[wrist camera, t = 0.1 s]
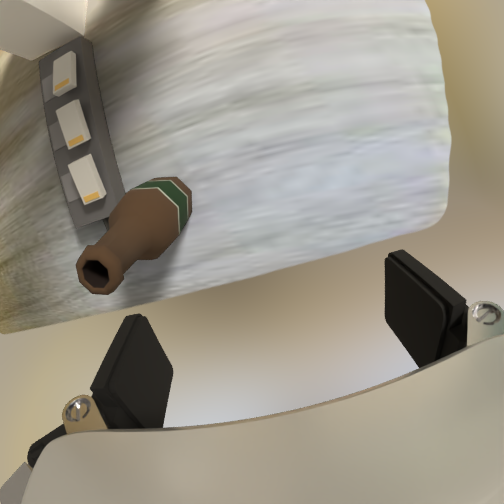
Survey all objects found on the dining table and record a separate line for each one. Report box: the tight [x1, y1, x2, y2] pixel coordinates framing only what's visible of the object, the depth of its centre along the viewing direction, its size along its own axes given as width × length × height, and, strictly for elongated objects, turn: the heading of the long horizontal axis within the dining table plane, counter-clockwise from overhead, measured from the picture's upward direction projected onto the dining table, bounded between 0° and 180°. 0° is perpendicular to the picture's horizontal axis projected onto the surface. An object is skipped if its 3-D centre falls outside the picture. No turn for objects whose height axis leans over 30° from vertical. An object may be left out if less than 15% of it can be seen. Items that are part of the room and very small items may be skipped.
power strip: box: [39, 36, 126, 232], centre depth 32 cm, size 31×8×4 cm, turn 14°
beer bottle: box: [76, 177, 192, 295], centre depth 28 cm, size 8×8×24 cm
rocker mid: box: [56, 99, 91, 149], centre depth 29 cm, size 6×3×2 cm, turn 15°
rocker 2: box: [68, 154, 107, 205], centre depth 32 cm, size 6×3×2 cm, turn 15°
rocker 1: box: [53, 51, 77, 97], centre depth 26 cm, size 6×3×2 cm, turn 13°
